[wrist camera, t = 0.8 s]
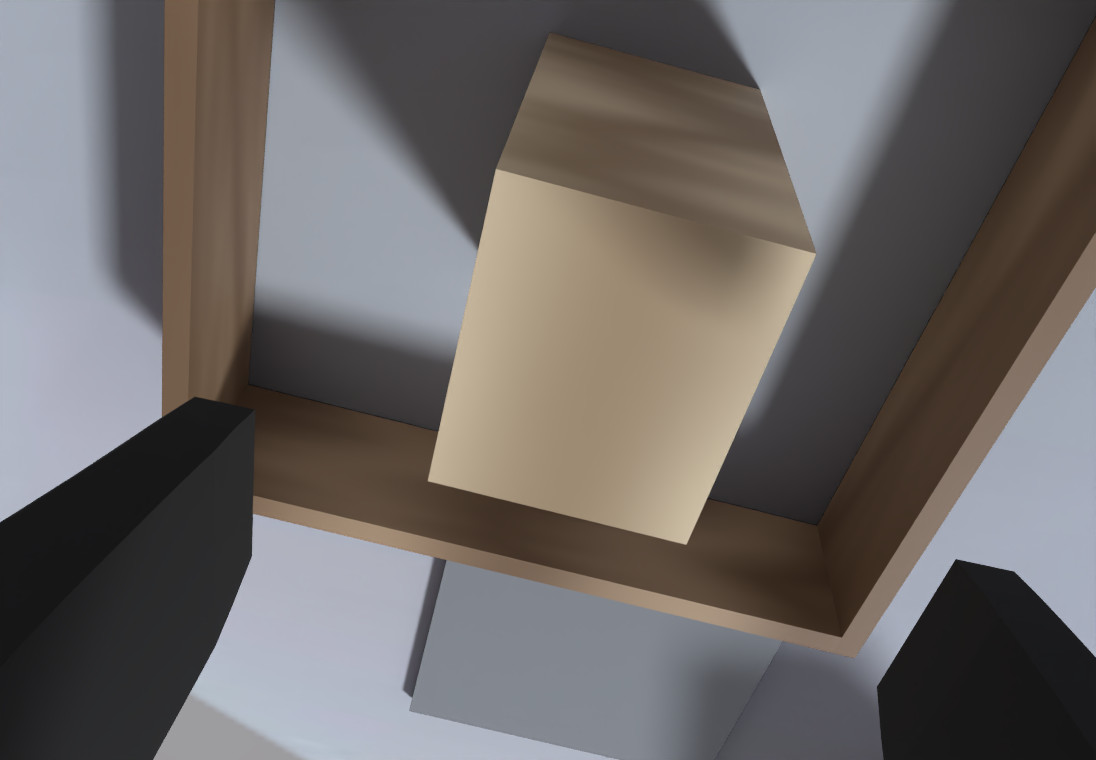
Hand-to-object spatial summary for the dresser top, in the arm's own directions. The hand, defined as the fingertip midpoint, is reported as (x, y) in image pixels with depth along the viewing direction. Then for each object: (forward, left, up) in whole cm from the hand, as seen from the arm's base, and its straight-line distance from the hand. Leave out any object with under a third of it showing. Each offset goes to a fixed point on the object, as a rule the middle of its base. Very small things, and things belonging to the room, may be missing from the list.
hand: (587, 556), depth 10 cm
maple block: (0, 0, -10) cm, 10 cm away
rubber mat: (-3, +13, -10) cm, 17 cm away
